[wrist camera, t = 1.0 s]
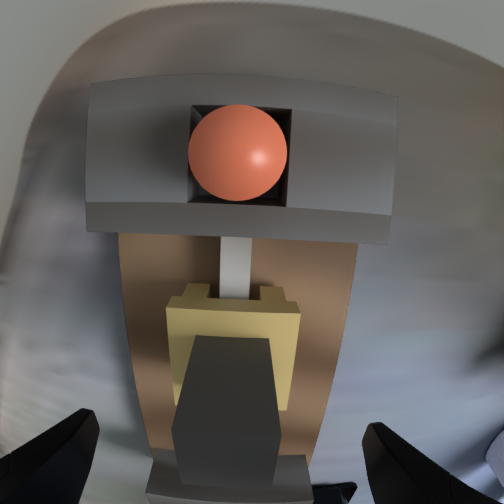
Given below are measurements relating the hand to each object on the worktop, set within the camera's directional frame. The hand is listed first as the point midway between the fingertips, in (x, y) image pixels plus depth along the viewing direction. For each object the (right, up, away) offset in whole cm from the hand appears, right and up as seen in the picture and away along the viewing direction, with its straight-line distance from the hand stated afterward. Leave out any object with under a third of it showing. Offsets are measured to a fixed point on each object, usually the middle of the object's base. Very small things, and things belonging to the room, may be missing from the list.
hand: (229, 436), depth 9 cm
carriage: (0, +2, +6) cm, 6 cm away
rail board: (0, 0, +8) cm, 9 cm away
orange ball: (0, +9, +1) cm, 9 cm away
